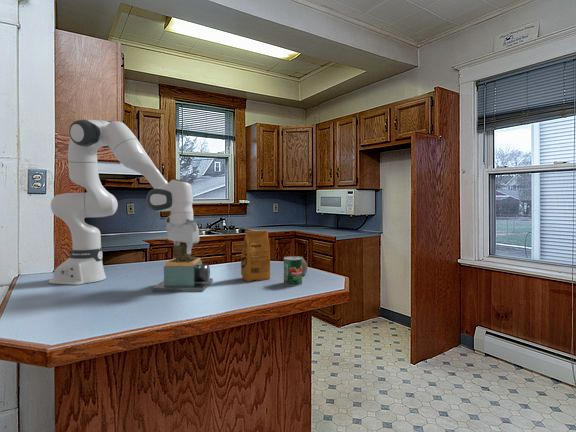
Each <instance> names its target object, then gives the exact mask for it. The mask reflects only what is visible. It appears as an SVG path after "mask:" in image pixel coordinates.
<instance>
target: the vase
mask: <svg viewBox="0 0 576 432" xmlns="http://www.w3.org/2000/svg"><path fill="white" fill-rule="evenodd" d="M297 257H302V277H303V276H306V274H307V272H308V263H307V261H306V260H305V259H304V257H303V256H301V255H299V256H297Z"/></svg>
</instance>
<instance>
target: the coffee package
mask: <svg viewBox="0 0 576 432" xmlns="http://www.w3.org/2000/svg"><path fill="white" fill-rule="evenodd" d="M244 235H245V236H244V239H243V244H242V249H241V257H240V258H241V259H240V275H241V276H242V277H241V278H242V279H243V280H244V281H245V282H251V281H252V282H253V281H264V280H269V279H270V278H271V247H270V240H269V233H268V229H262V230H244Z"/></svg>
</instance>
